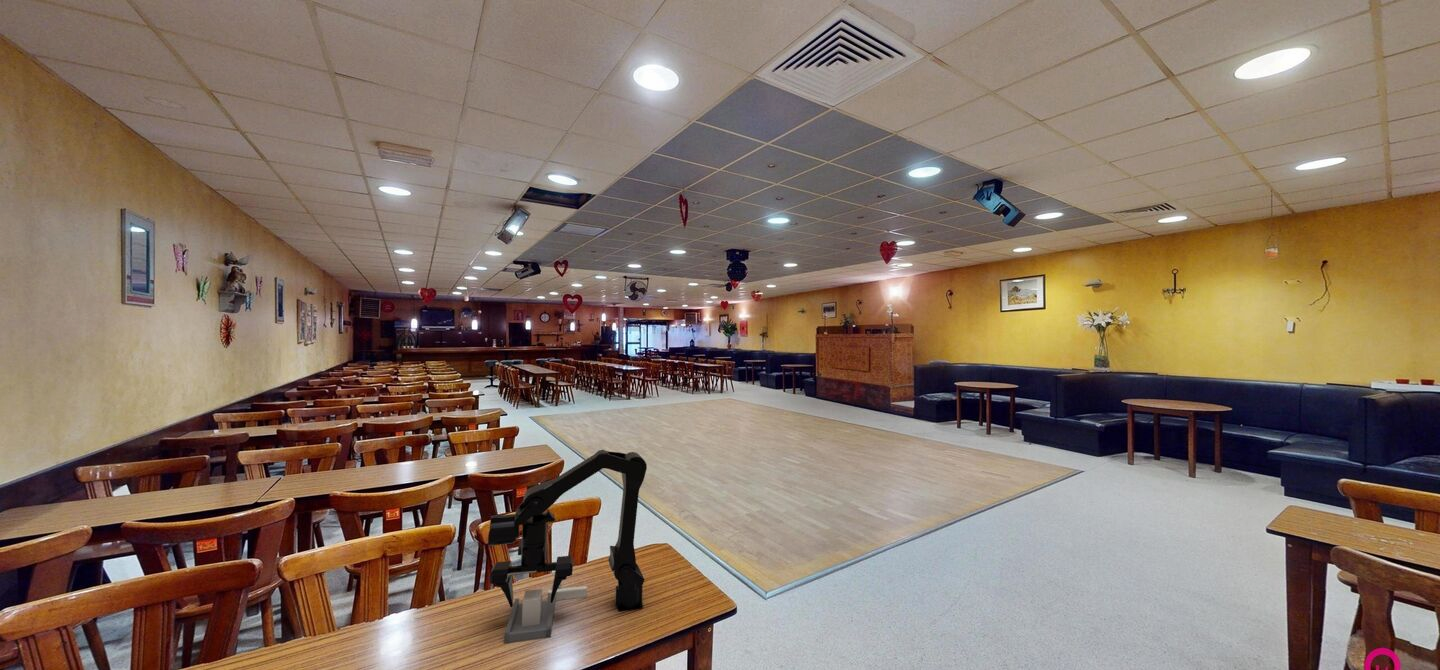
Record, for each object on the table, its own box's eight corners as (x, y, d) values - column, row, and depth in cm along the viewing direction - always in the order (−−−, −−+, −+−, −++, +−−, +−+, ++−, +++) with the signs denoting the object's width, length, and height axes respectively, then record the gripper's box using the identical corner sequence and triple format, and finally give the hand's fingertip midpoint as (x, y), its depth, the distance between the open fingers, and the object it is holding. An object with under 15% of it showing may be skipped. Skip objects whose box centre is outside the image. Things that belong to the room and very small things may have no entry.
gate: (587, 581, 135) (587, 567, 135) (586, 596, 127) (587, 581, 127) (550, 585, 132) (550, 571, 132) (547, 601, 124) (548, 586, 124)
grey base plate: (555, 601, 124) (555, 594, 124) (550, 638, 109) (550, 629, 109) (514, 606, 121) (515, 598, 122) (503, 644, 106) (504, 635, 106)
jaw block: (541, 612, 118) (542, 588, 118) (539, 624, 113) (540, 599, 113) (524, 614, 117) (525, 590, 117) (521, 626, 112) (522, 601, 112)
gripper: (574, 525, 126) (572, 583, 125) (499, 530, 121) (497, 591, 120) (573, 541, 115) (571, 606, 115) (490, 548, 110) (487, 615, 110)
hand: (532, 604), depth 115 cm, fingers open, 9 cm apart
